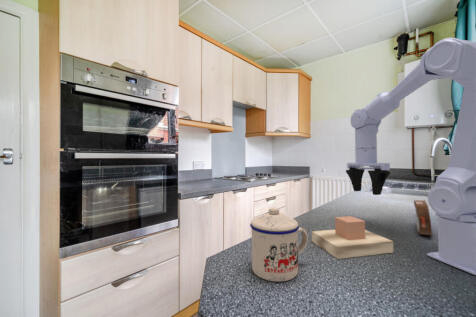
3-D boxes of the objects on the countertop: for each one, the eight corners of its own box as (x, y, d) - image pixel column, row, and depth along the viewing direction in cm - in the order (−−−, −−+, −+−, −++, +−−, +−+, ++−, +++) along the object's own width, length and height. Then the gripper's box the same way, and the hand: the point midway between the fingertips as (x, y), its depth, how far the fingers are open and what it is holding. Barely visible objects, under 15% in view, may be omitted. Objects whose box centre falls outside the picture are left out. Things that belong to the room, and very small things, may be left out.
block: (365, 238, 49) (365, 221, 49) (348, 240, 48) (347, 222, 48) (351, 232, 53) (351, 216, 53) (335, 233, 53) (335, 217, 53)
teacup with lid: (264, 288, 35) (263, 216, 35) (243, 263, 43) (243, 205, 43) (323, 274, 39) (322, 209, 39) (293, 253, 47) (293, 201, 47)
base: (393, 252, 47) (393, 241, 47) (337, 258, 44) (337, 246, 44) (359, 236, 57) (359, 227, 57) (311, 241, 54) (311, 231, 54)
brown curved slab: (432, 240, 54) (432, 207, 54) (416, 237, 56) (416, 205, 56) (426, 225, 66) (426, 198, 66) (413, 223, 68) (413, 197, 68)
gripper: (338, 150, 72) (339, 190, 72) (374, 147, 58) (375, 197, 58) (356, 150, 74) (357, 189, 74) (395, 147, 59) (396, 196, 59)
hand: (366, 192), depth 66 cm, fingers open, 7 cm apart
